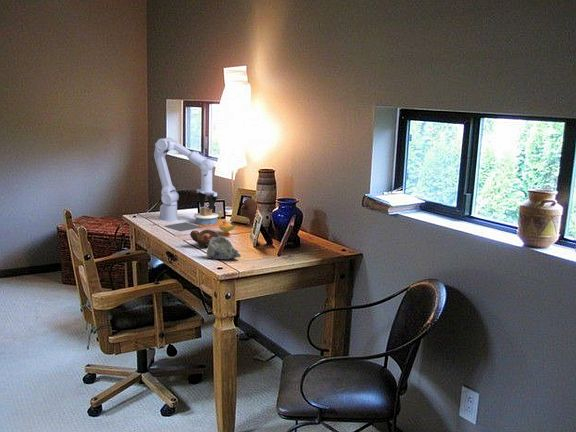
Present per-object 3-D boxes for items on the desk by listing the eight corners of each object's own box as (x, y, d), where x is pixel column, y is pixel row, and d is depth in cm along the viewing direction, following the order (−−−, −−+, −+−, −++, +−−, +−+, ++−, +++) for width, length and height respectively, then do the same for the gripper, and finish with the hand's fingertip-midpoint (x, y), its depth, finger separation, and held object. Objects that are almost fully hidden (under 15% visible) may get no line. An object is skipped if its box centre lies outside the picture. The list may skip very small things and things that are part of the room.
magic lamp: (231, 240, 274) (231, 217, 271) (212, 232, 288) (212, 210, 286) (243, 238, 278) (244, 216, 276) (224, 230, 292) (224, 209, 290)
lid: (188, 215, 305) (188, 208, 305) (208, 212, 315) (208, 205, 314) (204, 219, 297) (204, 212, 296) (223, 216, 306) (223, 208, 305)
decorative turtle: (187, 245, 263) (188, 227, 261) (220, 245, 268) (221, 228, 267) (192, 249, 254) (193, 231, 253) (225, 249, 259) (226, 232, 258)
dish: (192, 223, 307) (192, 215, 306) (208, 220, 315) (208, 213, 314) (205, 226, 299) (205, 219, 299) (221, 223, 307) (221, 216, 306)
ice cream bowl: (261, 228, 298) (261, 200, 295) (239, 228, 298) (239, 199, 295) (262, 224, 308) (262, 196, 305) (241, 223, 308) (241, 196, 305)
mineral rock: (242, 260, 241) (242, 237, 239) (220, 265, 234) (220, 241, 232) (224, 253, 250) (225, 231, 248) (203, 257, 244) (203, 234, 242)
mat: (163, 227, 296) (163, 226, 296) (185, 223, 306) (185, 222, 306) (180, 232, 286) (180, 231, 286) (203, 228, 296) (203, 227, 296)
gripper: (192, 181, 304) (192, 206, 307) (209, 185, 295) (209, 211, 298) (202, 180, 309) (202, 205, 312) (220, 183, 300) (220, 209, 303)
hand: (206, 208), depth 305 cm, fingers open, 7 cm apart
